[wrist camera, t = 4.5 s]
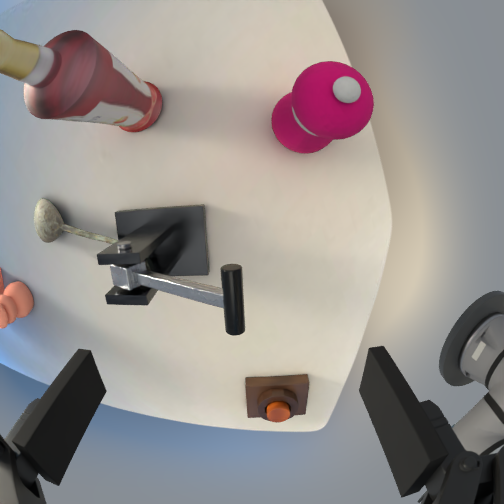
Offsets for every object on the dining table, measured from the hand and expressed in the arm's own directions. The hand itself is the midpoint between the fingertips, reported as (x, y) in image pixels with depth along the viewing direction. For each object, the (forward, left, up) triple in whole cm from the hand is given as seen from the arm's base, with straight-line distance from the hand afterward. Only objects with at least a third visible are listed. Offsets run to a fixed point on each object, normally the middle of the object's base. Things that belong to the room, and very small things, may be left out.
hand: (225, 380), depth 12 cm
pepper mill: (-8, -14, -27) cm, 31 cm away
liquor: (+12, -18, -27) cm, 34 cm away
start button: (-5, +27, -23) cm, 36 cm away
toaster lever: (+5, 0, -13) cm, 14 cm away
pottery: (+46, +8, -27) cm, 54 cm away
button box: (-5, +27, -26) cm, 38 cm away
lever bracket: (+10, 0, -26) cm, 28 cm away
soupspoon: (+22, -2, -26) cm, 34 cm away
